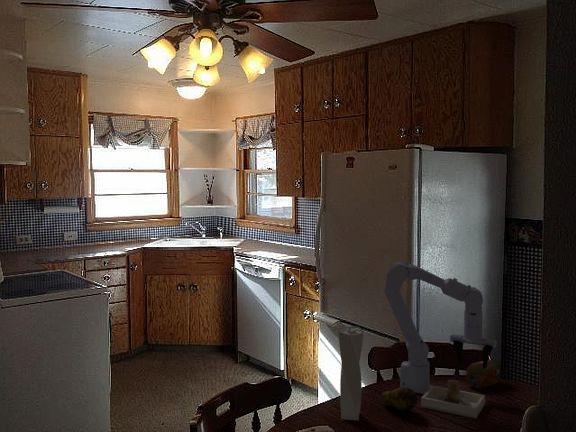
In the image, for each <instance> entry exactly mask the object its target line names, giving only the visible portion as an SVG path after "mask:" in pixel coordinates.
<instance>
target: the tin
mask: <svg viewBox="0 0 576 432" xmlns="http://www.w3.org/2000/svg"><path fill="white" fill-rule="evenodd" d="M501 367H502V366H501V365H500V363H499V362H498V361H496V360H492V359H488V361H487V367H486V368H485V369H484V368H483V360H482V361H477V362H472V363H470V365H468V367H467V369H466V372H465V373H466V374H465V377H466V378H465V379H466V382H467V384H468V385H469V386H471V387H473V388H476V389H481V388H482V387H483V388H486V387H490V386H494V385H496V384H498V383H499V381H500V379H501V376H502V368H501ZM483 388H482V389H483Z"/></svg>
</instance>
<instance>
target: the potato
mask: <svg viewBox="0 0 576 432" xmlns="http://www.w3.org/2000/svg"><path fill="white" fill-rule="evenodd" d="M417 396H418V395H417V394H416V392H414V391H413V390H411V389H410V388H403V387H401V388H400V387H397V388H395V389H391V390H386V391H384V392H382V394H381V396H380V397H381V398H380V399H381V401H382V403H383V404H384V406H385V405H386V406H387V407H391V408H392V409H394V410H398V411H412V410H413V409H414V408H415V407H416V405H418V401H419V400H418V397H417Z"/></svg>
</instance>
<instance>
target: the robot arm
mask: <svg viewBox="0 0 576 432" xmlns="http://www.w3.org/2000/svg"><path fill="white" fill-rule="evenodd" d="M407 278H408V281H413V280H415V281H416V280H419V281H422V282H424V283H427V284H429V285H432V286H433V287H436V288H439V289H440V290H441V292H442V294H443V295H446V296H448V297H450V298H452V299H454V300H457V301H459V302H464V305H465V307H464V311H463V320H464V321H463V335H458V334H451V335H450V336H449V342H451V343H452V347H453V349H454V351H455V353H456V357H457V361H458V364H459V365H460V366H461V365H463V363H464V356H463V355H464V354H463V351H464V344H470V345H475V346H483V347H482V358H483V359H482V361H483V368H484V369H485V368H486V367H487V361H488V360H489V358H490V355H491V354H492V351H493V349H496V348H497V344H498V343H497V342H498V341H497V340H493V339H488V338H484V337H483V304H484V298H483V294H482V292H481V291H480V290H479V289H478V288H476V287H474V286H473V287H472V285H470V284H468V285H466V284H465V283H462V282H460V281H458V278H456V277H453V278H451V277H449V278H446V279H444V278H442V277H440V276H438V275H436V274H434V273H432V272H430V271H428V270H425V268H422V267H419V266H417V265H415V264H412V263H408V262H406V261H403V260H399V261H397V262H395V263H394V264H393V265H392V266H391V267H390V268H389V270H388V272H387V273H386V280H385V285H384V294H385V295H386V299H387V301H388V303H389V306H390V308H391V310H392V313H393V315H394V318H395V319H396V322H397V323H398V324H397V325H398V326H399V328H400V331H401V333H402V335H403V338H404V341H405V345H406V346H405V348H406V349H407V352H408V353H407V354H408V355H407V358H408V361H407V360H404V361H403V362H402V363H401V365H400V369H399V370H400V371H399V373H400V374H399V375H400V376H399V379H400V380H399V382H400V383H399V388H401V387H403V388H410V389H411V390H413V391H414V392H415V393H417V394H422V395H424V394H425V393H426V392H427V391H428V390H429V389H430V388H431V387H432V386H433V385H430V364H431V363H430V361H429V360H428V356H429V353H430V348H429V346H428V344H427V343H426V342H425V341H424V340H423V338H422V336H421V335H420V334H419V332H418V330H417V328H416V325H415V323H414V321H413V317H412V316H411V313H410V311H409V310H408V308H407V305H406V303H405V300H404V298H403V295H402V293H401V290H402V289H401V288H402V287H403V284H404V282H405V281H406V280H407Z"/></svg>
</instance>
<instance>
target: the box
mask: <svg viewBox="0 0 576 432" xmlns="http://www.w3.org/2000/svg"><path fill="white" fill-rule="evenodd" d="M431 386H432V387H431V388H430V389H429V390H428V391H427V392H426V393H425V394H422V396H421V398H420V407H421V408H423V409H428V410H431V411H432V410H433V411H437V412H443V413H447V414H452V415H456V416H462V417H467V418H469V419H470V418H471V419H476V420H477V418H478V416H479V415H480V413H481V412H482V410H483V408H484V407H485V406H486V395H485V394H479V393H474V392H469V391H464V390H460V391H459V404H455V403H450V402H447V397H448V387H442V386H438V385H431Z"/></svg>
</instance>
